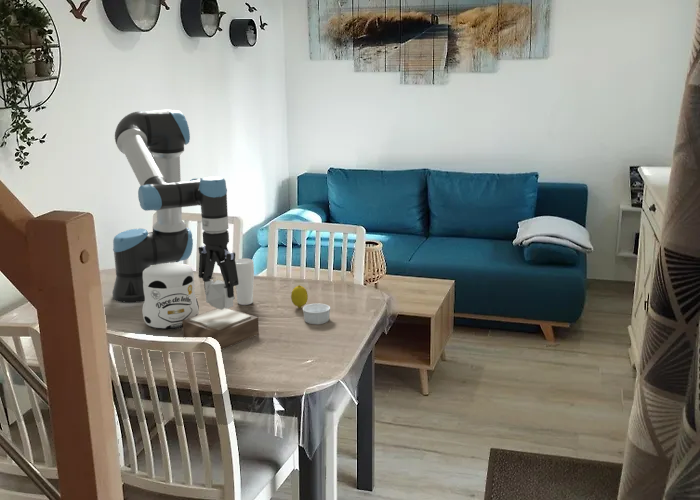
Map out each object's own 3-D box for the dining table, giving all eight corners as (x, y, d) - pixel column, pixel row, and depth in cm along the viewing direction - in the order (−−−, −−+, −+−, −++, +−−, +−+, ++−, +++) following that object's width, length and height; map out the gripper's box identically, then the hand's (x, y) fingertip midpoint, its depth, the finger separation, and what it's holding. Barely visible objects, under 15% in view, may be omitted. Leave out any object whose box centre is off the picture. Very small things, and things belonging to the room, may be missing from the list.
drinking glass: (251, 307, 244) (249, 264, 240) (232, 305, 245) (230, 263, 241) (257, 300, 250) (256, 258, 246) (239, 299, 251) (237, 257, 247)
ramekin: (299, 324, 229) (298, 311, 228) (308, 314, 237) (307, 302, 236) (325, 326, 227) (325, 313, 225) (333, 316, 235) (333, 304, 234)
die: (213, 302, 222) (196, 283, 216) (237, 288, 222) (221, 269, 215) (218, 320, 216) (200, 300, 210) (242, 305, 215) (226, 286, 209)
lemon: (310, 306, 244) (310, 284, 242) (303, 311, 239) (302, 288, 237) (296, 304, 246) (295, 281, 244) (288, 309, 241) (287, 286, 239)
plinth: (183, 337, 218) (182, 319, 216) (223, 322, 230) (222, 304, 228) (218, 350, 208) (217, 331, 207) (258, 334, 220) (258, 315, 219)
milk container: (174, 338, 218) (170, 281, 213) (131, 328, 226) (126, 273, 221) (210, 319, 232) (207, 266, 228) (169, 311, 240) (165, 259, 235)
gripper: (182, 227, 214) (187, 300, 220) (229, 238, 201) (233, 315, 207) (202, 223, 219) (206, 294, 225) (249, 233, 207) (252, 308, 213)
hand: (219, 304), depth 216 cm, fingers closed on die, 8 cm apart
